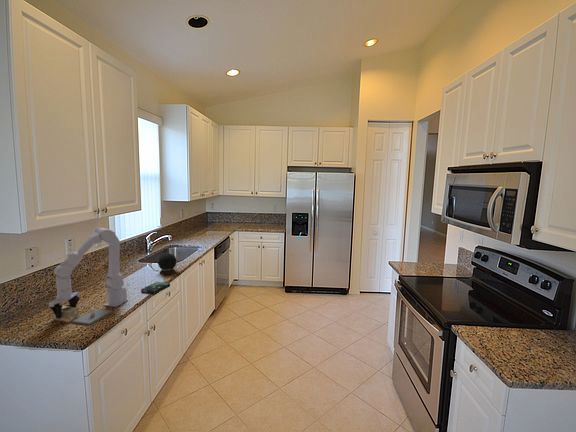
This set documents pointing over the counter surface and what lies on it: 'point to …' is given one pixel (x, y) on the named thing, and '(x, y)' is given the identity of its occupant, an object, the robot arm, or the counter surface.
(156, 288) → the disk drive
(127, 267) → the counter surface
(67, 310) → the hollow block
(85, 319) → the pin board
